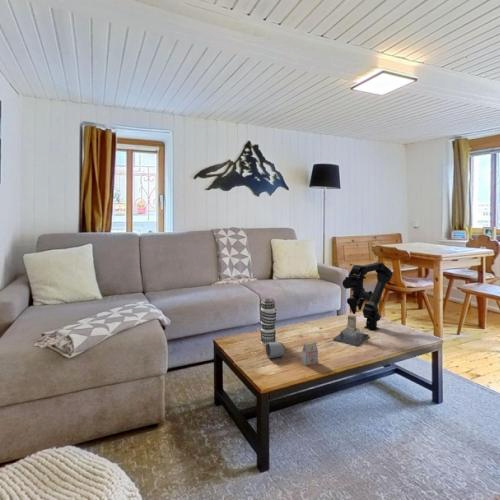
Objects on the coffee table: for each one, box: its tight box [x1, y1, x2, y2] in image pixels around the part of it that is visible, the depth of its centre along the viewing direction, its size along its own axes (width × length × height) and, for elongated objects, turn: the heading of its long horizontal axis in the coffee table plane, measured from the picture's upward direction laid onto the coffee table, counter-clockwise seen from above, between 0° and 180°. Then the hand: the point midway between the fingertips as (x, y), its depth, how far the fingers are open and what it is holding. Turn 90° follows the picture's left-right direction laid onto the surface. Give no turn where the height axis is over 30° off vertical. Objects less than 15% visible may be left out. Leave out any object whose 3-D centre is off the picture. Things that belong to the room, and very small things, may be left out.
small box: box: [301, 341, 319, 367], centre depth 160 cm, size 4×7×10 cm, turn 113°
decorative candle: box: [259, 297, 277, 346], centre depth 183 cm, size 9×9×25 cm
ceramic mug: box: [265, 341, 286, 359], centre depth 169 cm, size 11×8×8 cm
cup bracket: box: [333, 326, 370, 347], centre depth 190 cm, size 18×14×6 cm
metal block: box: [346, 314, 357, 332], centre depth 189 cm, size 4×4×12 cm
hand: (357, 312), depth 197 cm, fingers open, 9 cm apart
